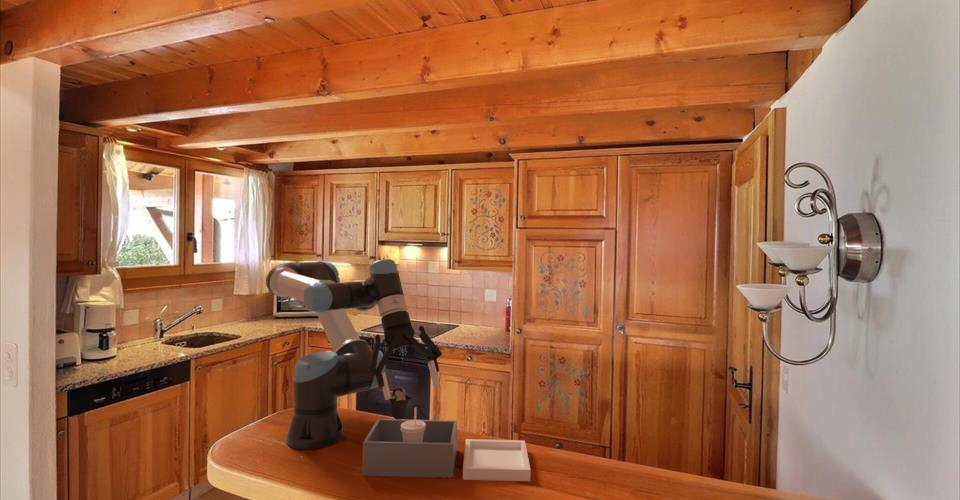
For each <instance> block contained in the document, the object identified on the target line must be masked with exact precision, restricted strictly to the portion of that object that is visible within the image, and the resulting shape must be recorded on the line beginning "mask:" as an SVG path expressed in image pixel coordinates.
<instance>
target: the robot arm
mask: <svg viewBox="0 0 960 500" xmlns="http://www.w3.org/2000/svg"><path fill="white" fill-rule="evenodd" d="M368 268H369V275H370V276H369V277H368V278H366V280H363V281H345V282H343V281H342V282H341V281H340V280H341V279H340V277H339V276H340V274H339V271H338V269H337V267H336V266H335V264H333V263H331V262H327V261H319V260H318V261H305V262H303V261H302V262H301V261H300V262H299V261H298V262H293V261H290V262H283V263H279V264H278V265H275V266H274V267H273V268H271V269H270V270H269V271H268V273H267V275H266V279H265V286H266V288H267V290H268V291H269V292H270V293H271V294H272V295H274V296H277V297H279V298H288V297H289V298H291V299H294V300H296V301H300V302H302V303H304V306H305V307H306V309H307V311H308V312H313V313H314V312H315V313H316V315H317V318H318V319H319V321H320V324H321V325H322V328H323V331H324V333H325V334H326V338H327V339H328V341H329V344H330V346H331V348H332V349H333V351H324V352H323V351H319V352H318V351H317V352H313V353H310V354H307V355H305V356H303V357H300V358H299V359H298V360H297V361H296V363H295V365H294V370H293V371H294V372H293V376H292V377H293V414H292V417H291V419H290V423H289V425H288V428H287V431H286V444H287V445H288V446H289V448H290V447H291V448H294V449H297V450H315V449H323V448H326V447H329V446H331V445H334V444H336V443H339V442H340V441H341V440H342V439H343V437H344V425H343V422H342V419H341V416H340V413H339V410H338V398H339V397H344V396H348V395H351V394H352V395H353V394H356V393H359V392H360V393H361V392H364V391H365V392H366V391H371V390H372V389H375V388H382V392H383V397H384V401H387V400H388V399H390V398H391V392H390V387H389V382H388V379H387V374H386V373H387V372H386V367H387V365H386V364H387V362H388V360H389V358H390V356H391V354H392V353H393V350H394V349H395V350H398V349H401V348H408V347H409V346H410V347H411V348H413V349H414V350H415V351H417V352H418V353H419V354H421V355H422V356H423V357H424V358H426V359H428V362H427V365H428V369H429V373H430V377H431V381H432V385H433V387H437V386H439V385H441V383H440V379H439V375H438V372H440V367H439V363H438V358H440V357H441V356H442V355H443V352H442V351H441V350H440V348H439V347H438V346H437V345H436V344H435V342H434V341H433V340H432V339H431V337H430V336H429V335H428V334H427V333H426V330H425V327H424V326H423V325H419V327H416V328H413V327H412V322H411V318H410V313H409V312H408V311H407V310H408V306H407V302H406V298H405V295H404V291H403V285H402V282H401V281H402V280H401V277H400V273H399V272H400V271H399V270H398V268H397V264H396V262H395V261H394V260H393V259H391V258H384V259H378V260H376V261H373V262H372V263H371V264H370V265H369V267H368ZM376 306H377V307H378V312H379V316H380V317H381V319H380V320H381V321H380V322H381V325H382V331H383V335H380V334H378V333H377V334H376V335H375V336H374V337H373V338H372V339H373V341H372V342H373V348H372V349H371V347H370V345H369V343H368V342H367V341H366V340H364V339H361V338H360V337H359V335H358V332H357V331H356V329H355V327H354V325H353V322H352V321H351V319H350V317H349V315H348V313H347V311H346V310H349V309H354V310H357V311H360V312H366V311H368V310H371V309H373V308H375V307H376ZM415 334H416V336H418V337H419V338H420V340H421V342H422V343H423V344H424V345H425V346H424V345H423V344H422V343H421V342H419V340H418V339H416V338H415V337H414V336H415ZM383 341H385V342H386V343H387V344H388V345H387V347H386V348H385V351H384V354H383V352H382V351H381V350H380V348H381V344H382V343H383Z"/></svg>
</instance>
